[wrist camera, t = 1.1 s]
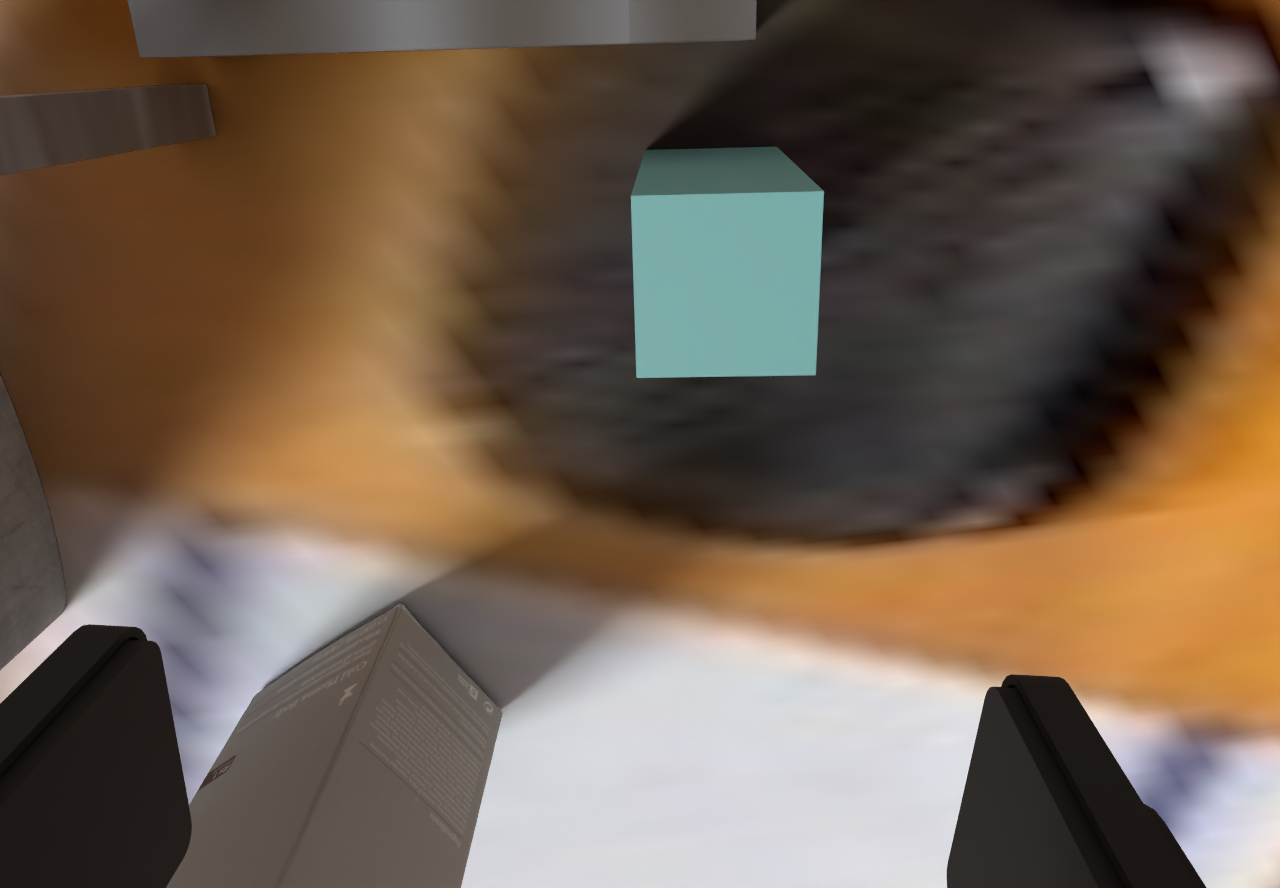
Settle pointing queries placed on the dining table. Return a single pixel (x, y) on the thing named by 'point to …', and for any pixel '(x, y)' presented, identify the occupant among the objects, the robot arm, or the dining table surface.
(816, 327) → the peg
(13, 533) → the hip flask
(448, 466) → the dining table surface
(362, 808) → the skincare box
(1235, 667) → the dining table surface
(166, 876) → the robot arm
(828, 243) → the dining table surface
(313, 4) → the socket stand
